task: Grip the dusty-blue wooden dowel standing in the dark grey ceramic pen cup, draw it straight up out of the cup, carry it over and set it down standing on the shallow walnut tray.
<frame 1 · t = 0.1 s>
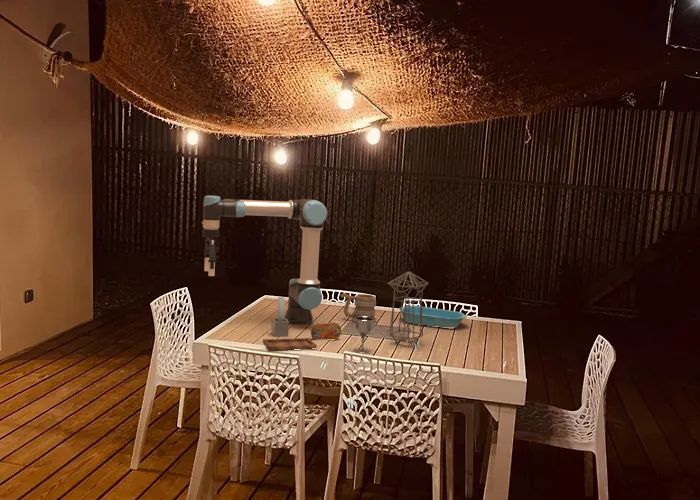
hand: (209, 273, 313), 28 cm above the table, tool pointing down, fingers open, 13 cm apart
wine glass: (362, 351, 299), on the table
dowel: (279, 334, 315), point 1 cm above the table, touching cup
geometric lantern: (404, 344, 316), on the table
cup: (279, 336, 315), on the table
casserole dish: (431, 324, 362), on the table
tin: (325, 340, 313), on the table
tray: (289, 346, 298), on the table
tankard: (357, 321, 357), on the table
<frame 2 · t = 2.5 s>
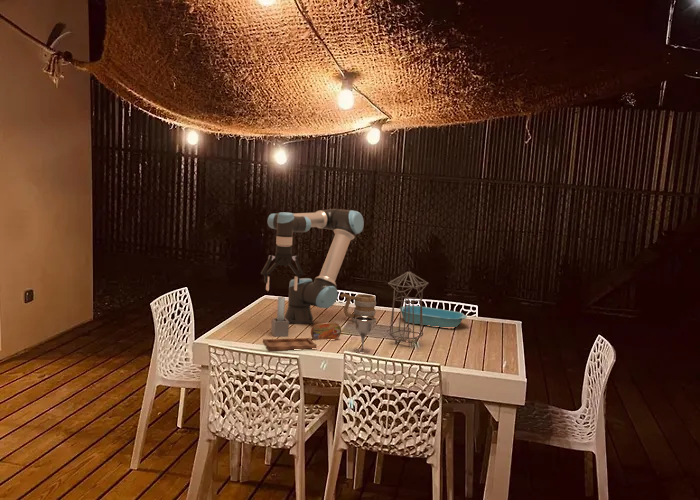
hand: (281, 290, 312), 22 cm above the table, tool pointing down, fingers open, 13 cm apart
nothing on the table moved.
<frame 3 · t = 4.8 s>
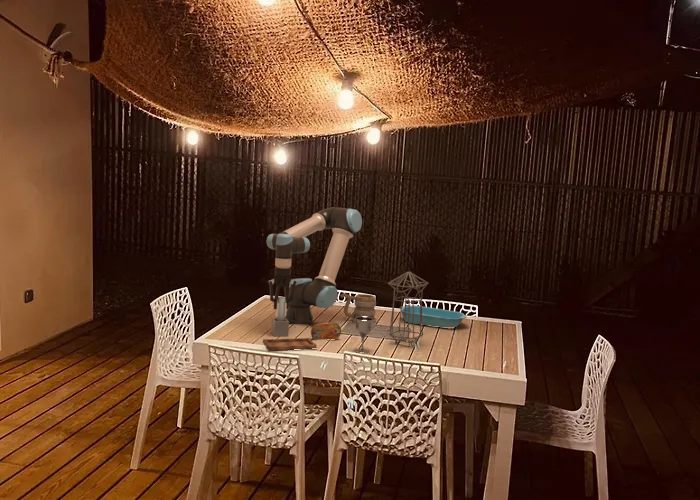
hand: (280, 315, 314), 10 cm above the table, tool pointing down, fingers closed on dowel, 3 cm apart
dowel: (279, 334, 315), point 1 cm above the table, touching cup, gripper
everything else where it was.
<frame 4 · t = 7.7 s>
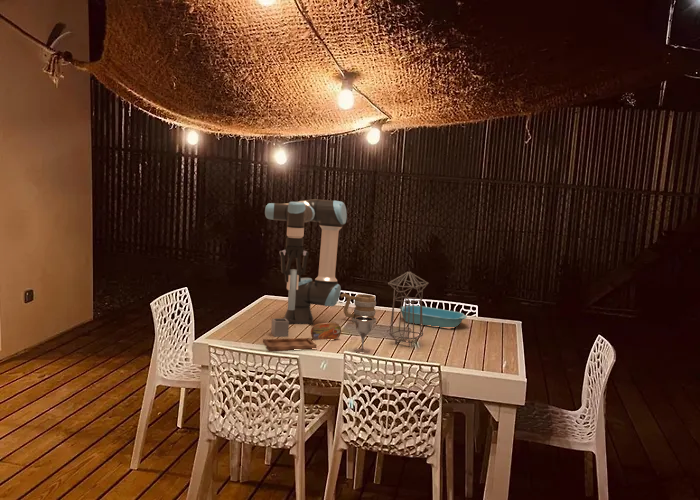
hand: (292, 289, 295), 26 cm above the table, tool pointing down, fingers closed on dowel, 3 cm apart
dowel: (291, 309, 296), point 17 cm above the table, touching gripper
everything else where it was.
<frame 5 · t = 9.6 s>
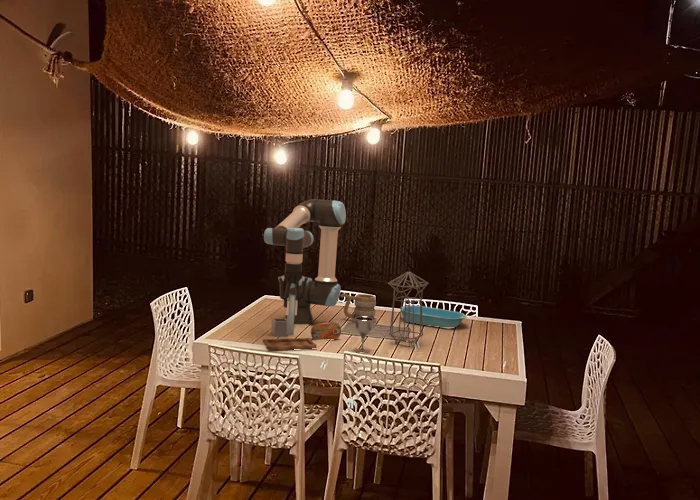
hand: (291, 314, 296), 15 cm above the table, tool pointing down, fingers closed on dowel, 3 cm apart
dowel: (289, 334, 297), point 6 cm above the table, touching gripper
everything else where it was.
when the fingers open (11 cm above the table, at t = 11.0 s): dowel drops 2 cm, resting on tray.
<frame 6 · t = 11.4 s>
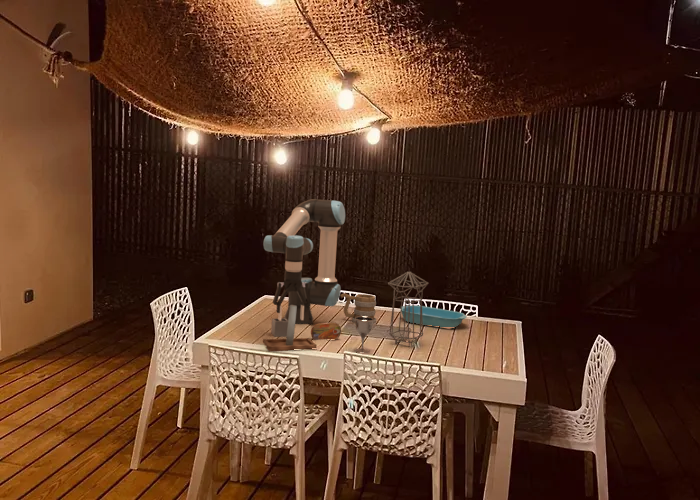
hand: (290, 319, 297), 12 cm above the table, tool pointing down, fingers open, 9 cm apart
dowel: (289, 344, 298), point 1 cm above the table, touching tray
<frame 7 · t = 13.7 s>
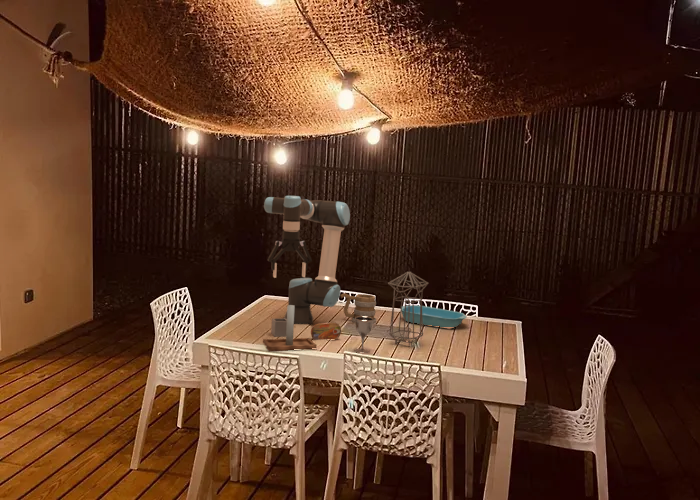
hand: (289, 277, 300), 31 cm above the table, tool pointing down, fingers open, 13 cm apart
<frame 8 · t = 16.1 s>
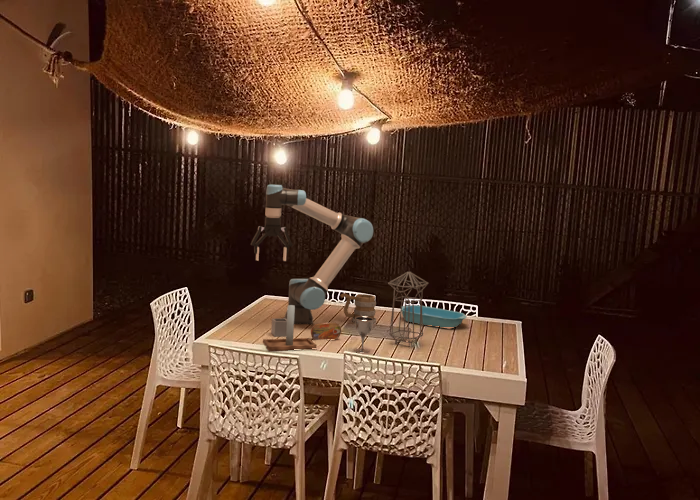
hand: (270, 260, 321), 35 cm above the table, tool pointing down, fingers open, 13 cm apart
at the end: dowel inside the target area on the tray (0.1 cm from its centre), point 0.9 cm above the tray's base; the gripper is holding nothing; dowel touching tray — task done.
